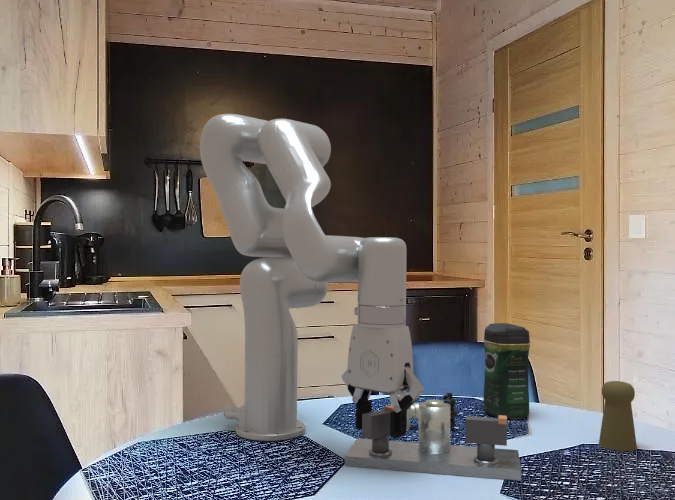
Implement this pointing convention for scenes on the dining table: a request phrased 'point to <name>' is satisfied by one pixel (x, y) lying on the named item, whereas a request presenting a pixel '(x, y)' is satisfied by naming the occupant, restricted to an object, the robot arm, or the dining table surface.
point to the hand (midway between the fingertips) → (380, 430)
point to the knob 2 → (486, 435)
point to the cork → (618, 417)
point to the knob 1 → (377, 428)
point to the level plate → (435, 460)
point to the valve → (415, 410)
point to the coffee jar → (506, 370)
